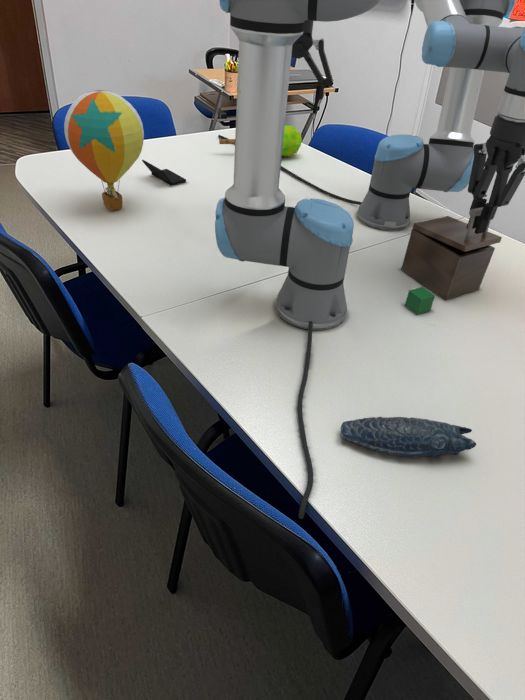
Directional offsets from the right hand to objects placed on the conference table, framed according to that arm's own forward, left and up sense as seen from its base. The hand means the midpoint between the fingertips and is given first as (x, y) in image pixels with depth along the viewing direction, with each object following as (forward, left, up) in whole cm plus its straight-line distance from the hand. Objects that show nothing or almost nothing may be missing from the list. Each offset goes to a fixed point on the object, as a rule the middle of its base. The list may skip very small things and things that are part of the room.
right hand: (475, 229), depth 115 cm
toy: (-52, -78, -16) cm, 95 cm away
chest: (-5, -2, -16) cm, 16 cm away
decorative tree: (-94, -26, -16) cm, 99 cm away
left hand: (-47, -31, +12) cm, 58 cm away
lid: (-4, -1, -3) cm, 6 cm away
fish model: (+43, -34, -16) cm, 57 cm away
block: (+6, -13, -16) cm, 21 cm away
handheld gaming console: (-72, -62, -16) cm, 96 cm away
